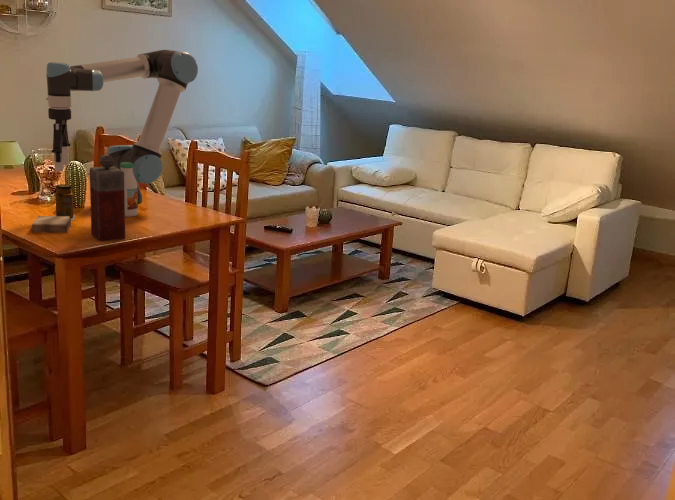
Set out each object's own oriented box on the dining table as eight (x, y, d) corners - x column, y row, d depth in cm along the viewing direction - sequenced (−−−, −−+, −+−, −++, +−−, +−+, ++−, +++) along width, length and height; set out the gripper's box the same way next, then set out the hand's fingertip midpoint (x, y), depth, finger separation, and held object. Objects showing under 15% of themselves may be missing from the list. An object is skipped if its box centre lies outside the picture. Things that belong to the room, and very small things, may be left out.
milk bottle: (119, 217, 261) (118, 164, 255) (114, 212, 267) (113, 161, 262) (140, 216, 265) (139, 164, 259) (134, 211, 271) (134, 161, 266)
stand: (71, 224, 247) (70, 216, 247) (66, 232, 237) (66, 224, 236) (38, 224, 245) (37, 215, 244) (32, 232, 235) (31, 223, 234)
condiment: (75, 214, 260) (73, 183, 257) (75, 220, 253) (73, 188, 250) (54, 215, 258) (52, 183, 255) (53, 220, 250) (52, 188, 247)
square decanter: (115, 230, 244) (113, 151, 236) (125, 238, 235) (124, 156, 227) (89, 232, 239) (86, 151, 231) (98, 241, 230) (96, 157, 222)
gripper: (54, 103, 255) (56, 161, 261) (41, 111, 232) (44, 173, 238) (75, 105, 257) (77, 162, 263) (65, 112, 233) (68, 174, 239)
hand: (61, 167), depth 250 cm, fingers open, 13 cm apart
